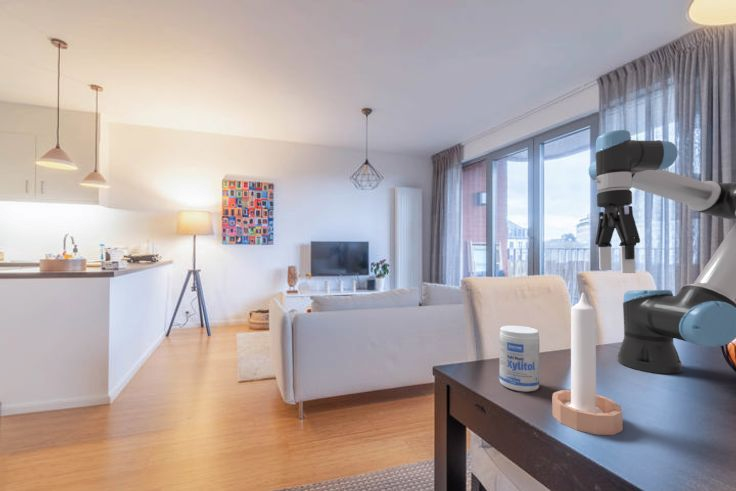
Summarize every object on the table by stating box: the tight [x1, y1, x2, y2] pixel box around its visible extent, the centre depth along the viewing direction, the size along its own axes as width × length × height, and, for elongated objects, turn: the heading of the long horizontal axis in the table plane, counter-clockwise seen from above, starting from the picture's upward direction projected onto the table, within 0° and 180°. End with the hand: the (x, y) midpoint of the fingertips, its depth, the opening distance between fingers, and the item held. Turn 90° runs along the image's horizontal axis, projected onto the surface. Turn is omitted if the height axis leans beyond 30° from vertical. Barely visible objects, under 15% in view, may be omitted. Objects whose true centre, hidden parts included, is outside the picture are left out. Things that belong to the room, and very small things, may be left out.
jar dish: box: [551, 389, 624, 436], centre depth 71 cm, size 12×12×4 cm
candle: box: [564, 292, 603, 413], centre depth 73 cm, size 7×7×25 cm
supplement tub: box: [498, 325, 540, 393], centre depth 89 cm, size 10×10×15 cm
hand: (616, 271), depth 90 cm, fingers open, 13 cm apart
